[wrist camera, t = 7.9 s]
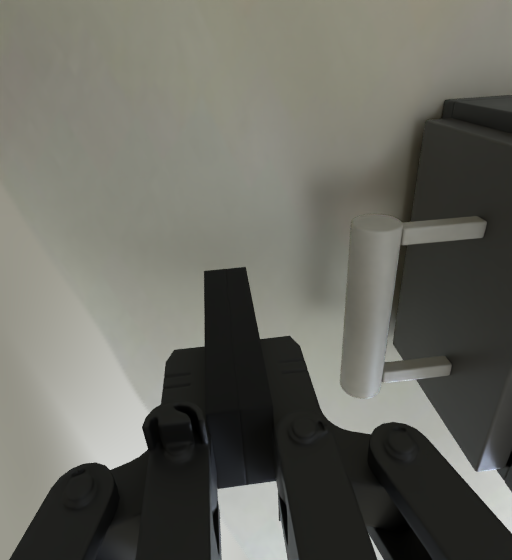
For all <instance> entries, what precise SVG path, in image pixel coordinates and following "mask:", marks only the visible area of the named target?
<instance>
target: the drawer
mask: <svg viewBox="0 0 512 560" xmlns="http://www.w3.org/2000/svg"><path fill="white" fill-rule="evenodd" d="M400 244H401V245H407V250H406V256H405V263H404V270H403V277H402V284H401V290H400V297H399V304H398V311H397V318H396V325H395V331H394V338H393V345H394V346H395V348H396V349H397V351H398V353H399V354H400V356H401V357H402V359H403V360H402V361H394V362H385V363H384V360H385V353H386V346H387V338H388V331H389V324H390V316H391V309H392V302H393V295H394V287H395V280H396V273H397V266H398V258H399V251H400ZM414 379H416V380H417V382H418V383H419V385H420V386H421V388H422V390H423V391H424V393H425V394H426V396H427V397H428V399H429V400H430V402H431V403H432V405H433V407H434V408H435V410H436V411H437V413H438V414H439V416H440V417H441V419H442V420H443V422H444V424H445V425H446V427H447V428H448V430H449V431H450V433H451V434H452V436H453V437H454V439H455V440H456V442H457V444H458V445H459V447H460V448H461V450H462V451H463V453H464V454H465V456H466V457H467V459H468V461H469V462H470V464H471V465H472V467H473V468H474V470H475V471H477V472H479V471H486V470H494V469H501V468H504V467H505V466H506V464H507V461H508V459H509V456H510V454H511V451H512V133H508V132H504V131H500V130H496V129H492V128H488V127H484V126H481V125H477V124H473V123H469V122H465V121H461V120H457V119H453V118H448V119H434V120H427V121H426V122H425V127H424V134H423V140H422V147H421V154H420V161H419V168H418V175H417V181H416V188H415V195H414V202H413V209H412V215H411V222H404V223H402V222H401V221H400V220H399V219H397V218H395V217H392V216H388V215H383V214H366V215H361V216H358V217H355V218H354V219H353V220H352V222H351V231H350V245H349V260H348V274H347V288H346V303H345V317H344V331H343V345H342V360H341V374H340V385H341V387H342V389H343V390H344V391H345V392H346V393H347V394H349V395H350V396H352V397H355V398H360V399H367V398H371V397H374V396H375V395H377V394H378V393H379V391H380V389H381V382H383V383H389V382H397V381H406V380H414Z"/></svg>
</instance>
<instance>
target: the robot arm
mask: <svg viewBox="0 0 512 560" xmlns="http://www.w3.org/2000/svg"><path fill="white" fill-rule="evenodd" d="M204 308H205V347H196V348H187V349H178V350H174V351H173V353H172V354H171V356H170V357H169V359H168V360H167V361H166V366H165V375H164V376H165V378H164V384H163V392H162V401H161V405H160V406H158V407H156V408H155V409H153V410H152V411H151V412H150V414H149V415H148V416H147V417H146V419H145V421H144V424H143V426H142V429H143V432H144V436H145V439H146V443H147V446H148V450H147V451H146V452H145V453H143V454H142V455H141V456H140V457H139V458H136V459H135V460H133V461H131V462H129V463H126V464H124V465H122V466H119V467H117V468H114V469H112V470H109V469H108V468H107V467H106V466H105V465H102V464H98V463H87V464H82V465H80V466H77V467H75V468H73V469H71V470H69V471H68V472H67V473H65V474H64V475H63V476H61V477H60V478H59V480H58V481H57V482H56V483H55V484H54V486H53V487H52V488H51V490H50V491H49V493H48V495H47V496H46V498H45V500H44V501H43V503H42V505H41V507H40V508H39V510H38V512H37V513H36V515H35V517H34V519H33V520H32V522H31V524H30V525H29V527H28V529H27V530H26V532H25V534H24V536H23V537H22V539H21V541H20V542H19V544H18V546H17V548H16V549H15V551H14V553H13V554H12V556H11V558H10V559H9V560H222V559H221V534H220V511H219V505H218V496H217V489H220V488H228V487H235V486H242V485H249V484H256V483H264V482H271V481H276V482H277V487H278V505H279V521H281V522H282V528H283V534H284V540H285V546H286V552H287V558H288V560H377V557H376V555H375V552H374V549H373V546H372V543H371V540H370V537H371V538H372V540H373V542H374V543H375V545H376V547H377V549H378V550H379V552H380V554H381V555H382V557H383V559H384V560H512V534H511V532H510V531H509V530H508V529H507V528H506V527H505V526H504V524H503V523H502V522H501V521H500V520H499V519H498V518H497V517H496V515H495V514H494V513H493V512H492V511H491V510H490V509H489V508H488V506H487V505H486V504H485V503H484V502H483V501H482V500H481V499H480V497H479V496H478V495H477V494H476V493H475V492H474V491H473V490H472V488H471V487H470V486H469V485H468V484H467V483H466V482H465V481H464V479H463V478H462V477H461V476H460V475H459V474H458V473H457V472H456V470H455V469H454V468H453V467H452V466H451V465H450V464H449V463H448V461H447V460H446V459H445V458H444V457H443V456H442V455H441V453H440V452H439V451H438V450H437V449H436V448H435V447H434V446H433V444H432V443H431V442H430V441H429V440H428V439H427V438H426V437H425V436H424V435H423V434H422V433H421V432H419V431H418V430H417V429H415V428H413V427H411V426H409V425H406V424H402V423H396V422H391V423H385V424H382V425H380V426H378V427H377V428H375V429H374V431H373V432H372V434H364V433H358V432H352V431H348V430H344V429H341V428H339V427H337V426H335V425H334V424H332V423H331V422H330V421H328V420H327V418H326V417H325V416H324V415H323V413H322V411H321V409H320V406H319V403H318V400H317V397H316V394H315V391H314V388H313V385H312V382H311V379H310V376H309V373H308V371H307V366H306V363H305V361H304V357H303V354H302V351H301V348H300V346H299V345H298V344H297V343H296V342H295V341H294V340H293V339H292V338H291V337H290V336H285V337H276V338H267V339H260V337H259V332H258V327H257V322H256V317H255V312H254V307H253V302H252V297H251V292H250V287H249V282H248V276H247V271H246V267H241V268H231V269H221V270H211V271H204ZM368 533H369V534H368ZM369 535H370V537H369Z"/></svg>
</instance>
